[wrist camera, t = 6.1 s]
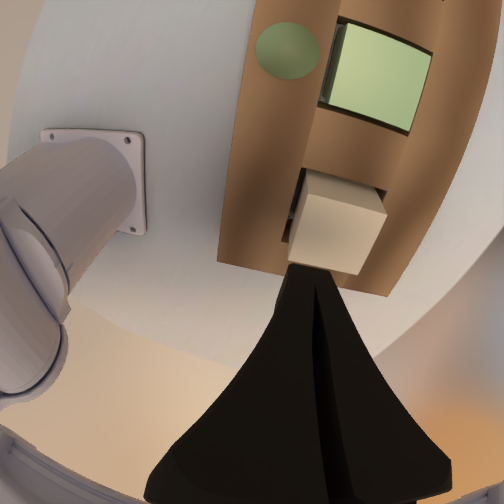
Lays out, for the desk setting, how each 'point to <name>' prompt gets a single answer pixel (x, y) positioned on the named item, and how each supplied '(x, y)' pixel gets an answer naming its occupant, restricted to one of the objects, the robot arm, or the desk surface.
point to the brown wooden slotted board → (351, 127)
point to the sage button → (376, 76)
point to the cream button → (334, 223)
